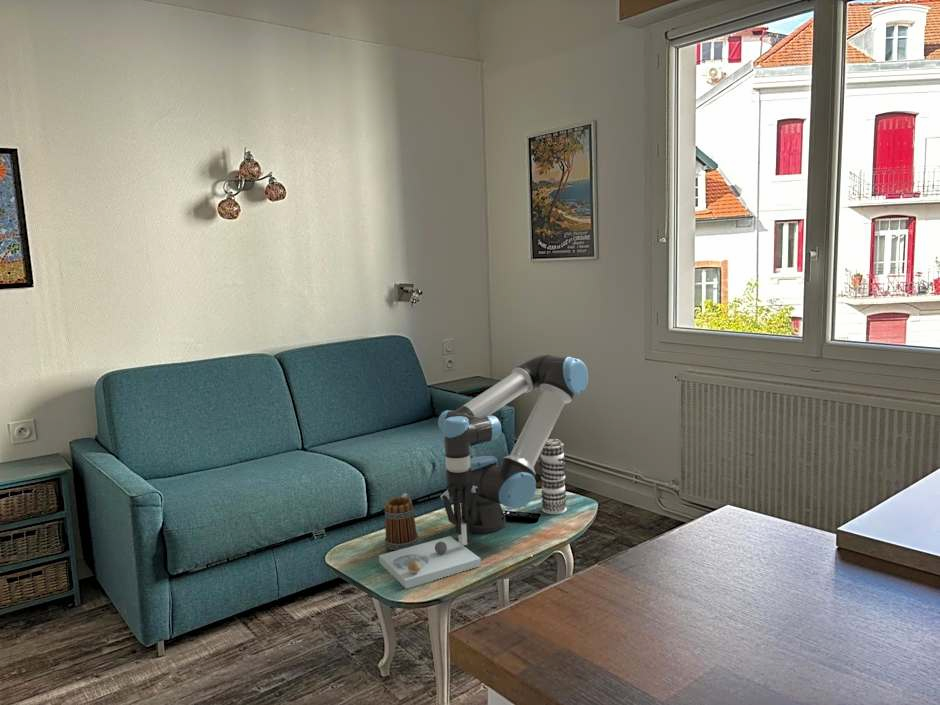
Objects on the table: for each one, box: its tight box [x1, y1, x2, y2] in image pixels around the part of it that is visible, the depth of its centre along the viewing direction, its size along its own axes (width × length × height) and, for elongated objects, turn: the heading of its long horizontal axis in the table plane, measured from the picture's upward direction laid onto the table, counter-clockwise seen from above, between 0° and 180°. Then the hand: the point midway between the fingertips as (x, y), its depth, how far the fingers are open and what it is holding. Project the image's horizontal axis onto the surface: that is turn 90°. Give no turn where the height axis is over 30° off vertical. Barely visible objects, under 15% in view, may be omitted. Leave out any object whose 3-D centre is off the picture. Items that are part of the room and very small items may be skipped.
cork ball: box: [408, 560, 420, 574], centre depth 204 cm, size 4×4×4 cm
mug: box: [384, 493, 419, 552], centre depth 230 cm, size 16×11×15 cm
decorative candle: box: [538, 438, 568, 515], centre depth 251 cm, size 9×9×25 cm
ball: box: [435, 542, 447, 554], centre depth 216 cm, size 4×4×4 cm
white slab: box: [378, 535, 482, 590], centre depth 215 cm, size 24×20×2 cm
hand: (462, 543), depth 220 cm, fingers closed
